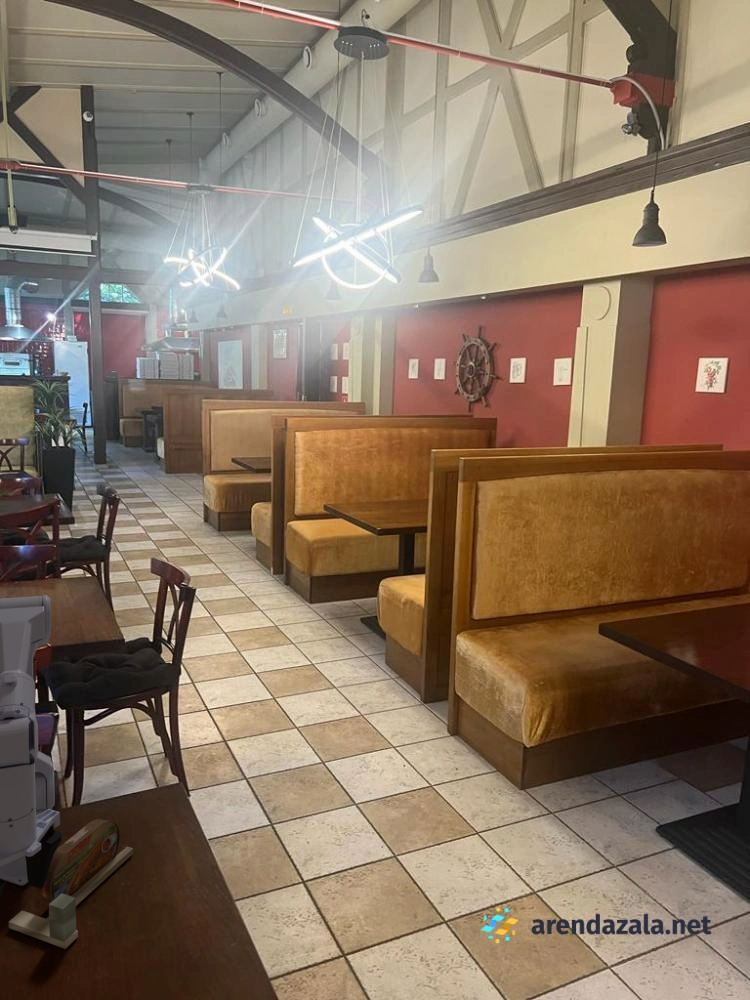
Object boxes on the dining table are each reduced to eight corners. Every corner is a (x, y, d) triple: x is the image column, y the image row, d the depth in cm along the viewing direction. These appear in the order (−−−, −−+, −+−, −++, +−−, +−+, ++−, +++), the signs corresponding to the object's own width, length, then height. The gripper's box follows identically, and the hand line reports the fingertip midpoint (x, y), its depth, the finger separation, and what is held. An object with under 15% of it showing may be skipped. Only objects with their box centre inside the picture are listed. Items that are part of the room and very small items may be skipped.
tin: (53, 920, 104) (52, 867, 103) (36, 913, 105) (34, 861, 104) (121, 858, 118) (121, 811, 117) (106, 853, 119) (105, 806, 118)
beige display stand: (8, 927, 102) (7, 889, 101) (105, 845, 121) (105, 812, 120) (65, 949, 99) (64, 909, 98) (155, 860, 118) (156, 827, 117)
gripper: (-12, 850, 84) (-9, 953, 86) (77, 787, 97) (78, 877, 100) (-58, 835, 86) (-53, 936, 88) (36, 775, 100) (38, 864, 102)
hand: (14, 904), depth 94 cm, fingers open, 7 cm apart
